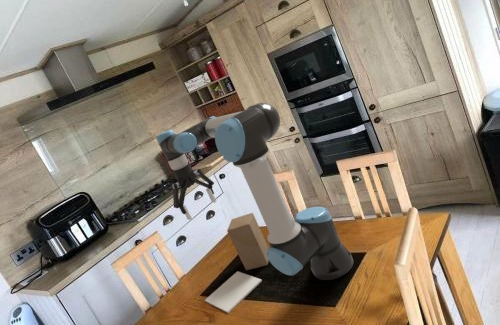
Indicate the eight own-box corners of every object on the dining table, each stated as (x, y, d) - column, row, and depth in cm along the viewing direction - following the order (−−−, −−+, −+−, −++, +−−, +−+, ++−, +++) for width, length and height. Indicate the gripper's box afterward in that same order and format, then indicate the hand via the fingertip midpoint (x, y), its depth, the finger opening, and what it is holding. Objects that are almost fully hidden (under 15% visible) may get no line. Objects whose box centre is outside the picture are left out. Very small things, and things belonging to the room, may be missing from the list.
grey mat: (262, 280, 143) (261, 279, 143) (228, 313, 133) (227, 311, 133) (237, 272, 156) (237, 271, 155) (205, 301, 146) (204, 300, 146)
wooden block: (268, 265, 151) (249, 223, 146) (245, 271, 154) (226, 230, 149) (270, 251, 161) (252, 212, 155) (249, 257, 163) (231, 218, 158)
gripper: (199, 153, 162) (219, 194, 168) (151, 181, 148) (174, 225, 154) (208, 152, 156) (228, 195, 162) (159, 181, 142) (183, 227, 148)
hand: (202, 210), depth 158 cm, fingers open, 13 cm apart
